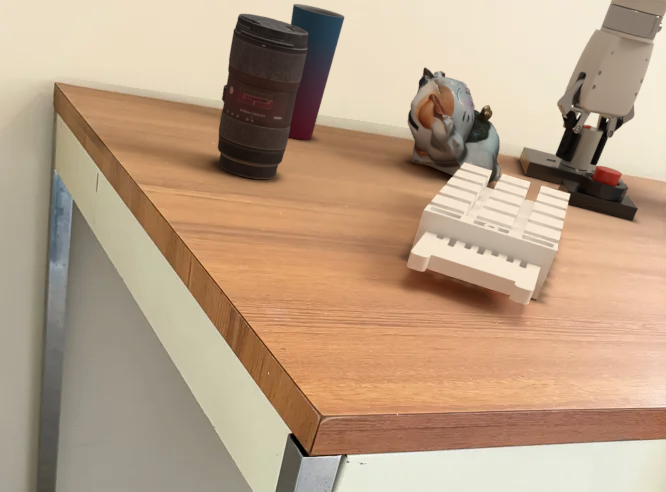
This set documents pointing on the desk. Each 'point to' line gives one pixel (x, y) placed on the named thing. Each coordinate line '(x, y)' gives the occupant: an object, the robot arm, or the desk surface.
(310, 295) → the desk surface
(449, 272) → the organizer
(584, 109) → the robot arm
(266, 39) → the camera lens
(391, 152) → the desk surface
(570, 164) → the hob knob
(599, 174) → the button
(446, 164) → the lucky cat figurine
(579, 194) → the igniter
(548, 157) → the hob console
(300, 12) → the cup
